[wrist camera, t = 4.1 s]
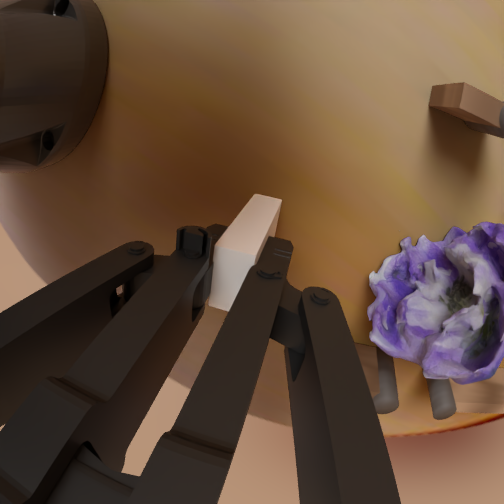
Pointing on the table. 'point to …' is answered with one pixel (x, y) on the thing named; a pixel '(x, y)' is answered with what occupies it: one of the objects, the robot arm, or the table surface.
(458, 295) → the flower
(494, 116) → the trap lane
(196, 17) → the table surface
